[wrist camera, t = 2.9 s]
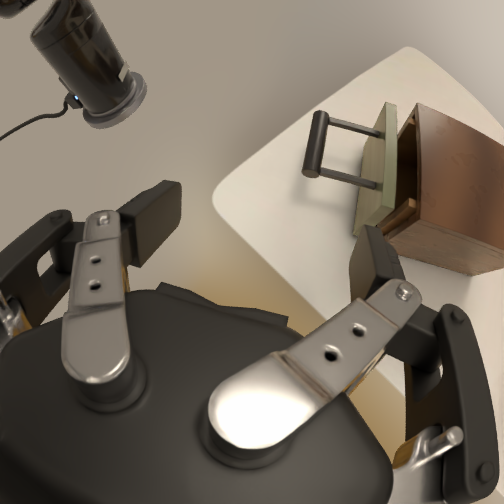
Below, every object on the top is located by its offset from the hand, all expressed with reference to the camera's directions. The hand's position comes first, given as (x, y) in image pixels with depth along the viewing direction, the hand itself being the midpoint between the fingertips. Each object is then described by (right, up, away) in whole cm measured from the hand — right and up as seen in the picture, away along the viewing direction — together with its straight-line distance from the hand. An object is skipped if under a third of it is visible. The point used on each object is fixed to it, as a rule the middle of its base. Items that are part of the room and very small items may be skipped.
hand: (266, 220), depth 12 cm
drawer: (+15, +5, +18) cm, 24 cm away
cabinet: (+22, +3, +18) cm, 29 cm away
